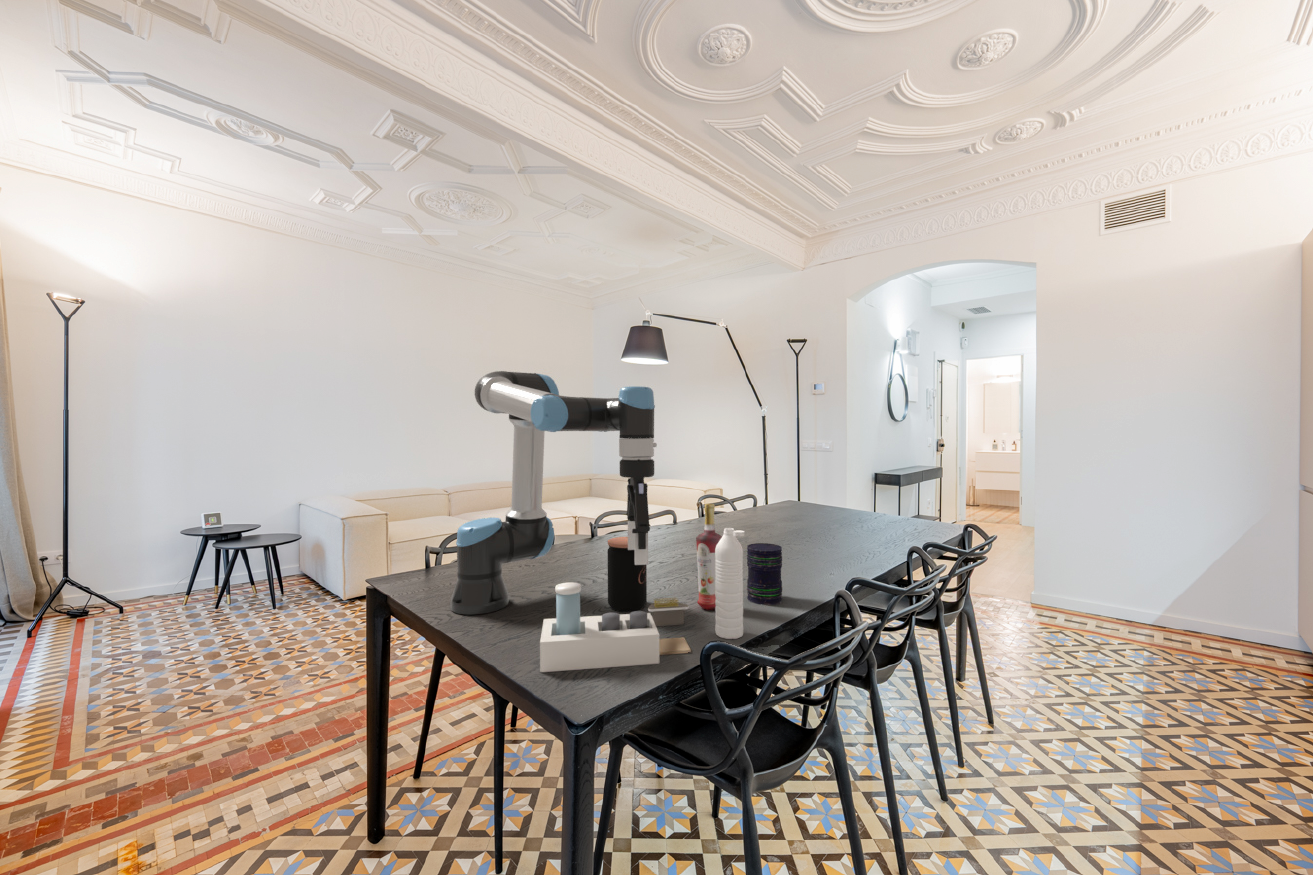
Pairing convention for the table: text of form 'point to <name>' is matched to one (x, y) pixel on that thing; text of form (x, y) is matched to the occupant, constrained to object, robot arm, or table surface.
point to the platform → (667, 612)
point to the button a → (610, 621)
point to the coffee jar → (625, 577)
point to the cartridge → (568, 608)
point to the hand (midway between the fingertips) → (637, 556)
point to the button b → (638, 620)
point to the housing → (598, 645)
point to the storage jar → (764, 573)
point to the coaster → (673, 646)
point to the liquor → (707, 560)
